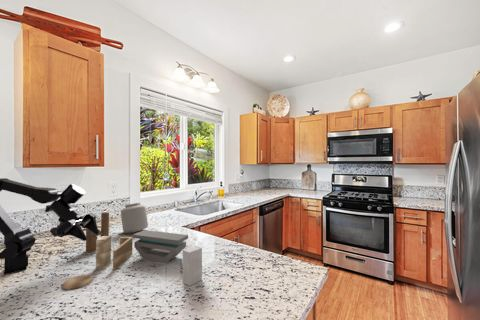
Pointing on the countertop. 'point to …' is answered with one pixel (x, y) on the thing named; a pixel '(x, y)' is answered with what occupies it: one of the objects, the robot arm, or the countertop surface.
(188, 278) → the skincare box
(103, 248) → the pale wood block
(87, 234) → the wooden block
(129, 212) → the jar
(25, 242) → the robot arm
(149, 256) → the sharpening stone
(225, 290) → the countertop surface
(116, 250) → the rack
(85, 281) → the coaster
